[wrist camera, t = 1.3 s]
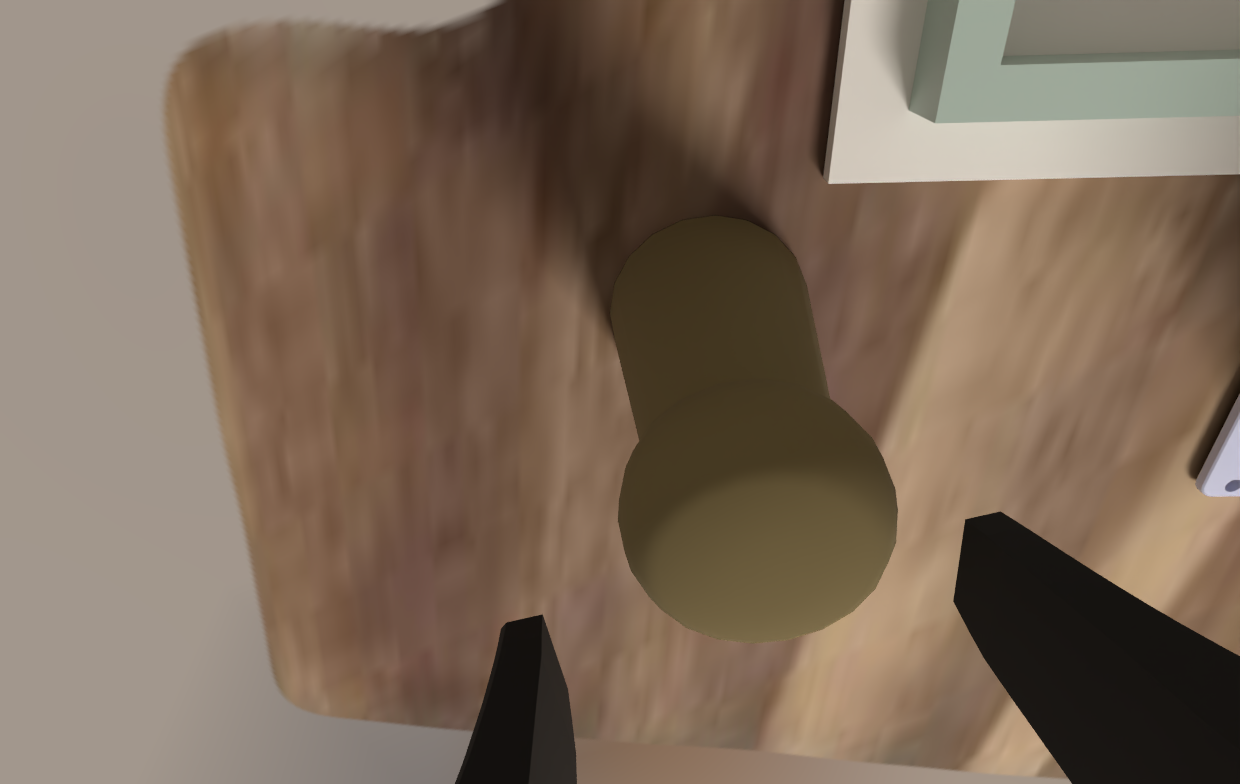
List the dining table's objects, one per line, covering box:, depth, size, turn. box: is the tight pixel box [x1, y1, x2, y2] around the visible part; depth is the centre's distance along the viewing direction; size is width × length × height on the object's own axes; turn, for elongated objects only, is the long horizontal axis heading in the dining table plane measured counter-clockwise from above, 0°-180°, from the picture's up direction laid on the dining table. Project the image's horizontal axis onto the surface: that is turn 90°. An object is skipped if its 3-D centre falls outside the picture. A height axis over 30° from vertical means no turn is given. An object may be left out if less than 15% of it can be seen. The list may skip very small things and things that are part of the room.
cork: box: [610, 215, 898, 643], centre depth 17 cm, size 6×6×11 cm
